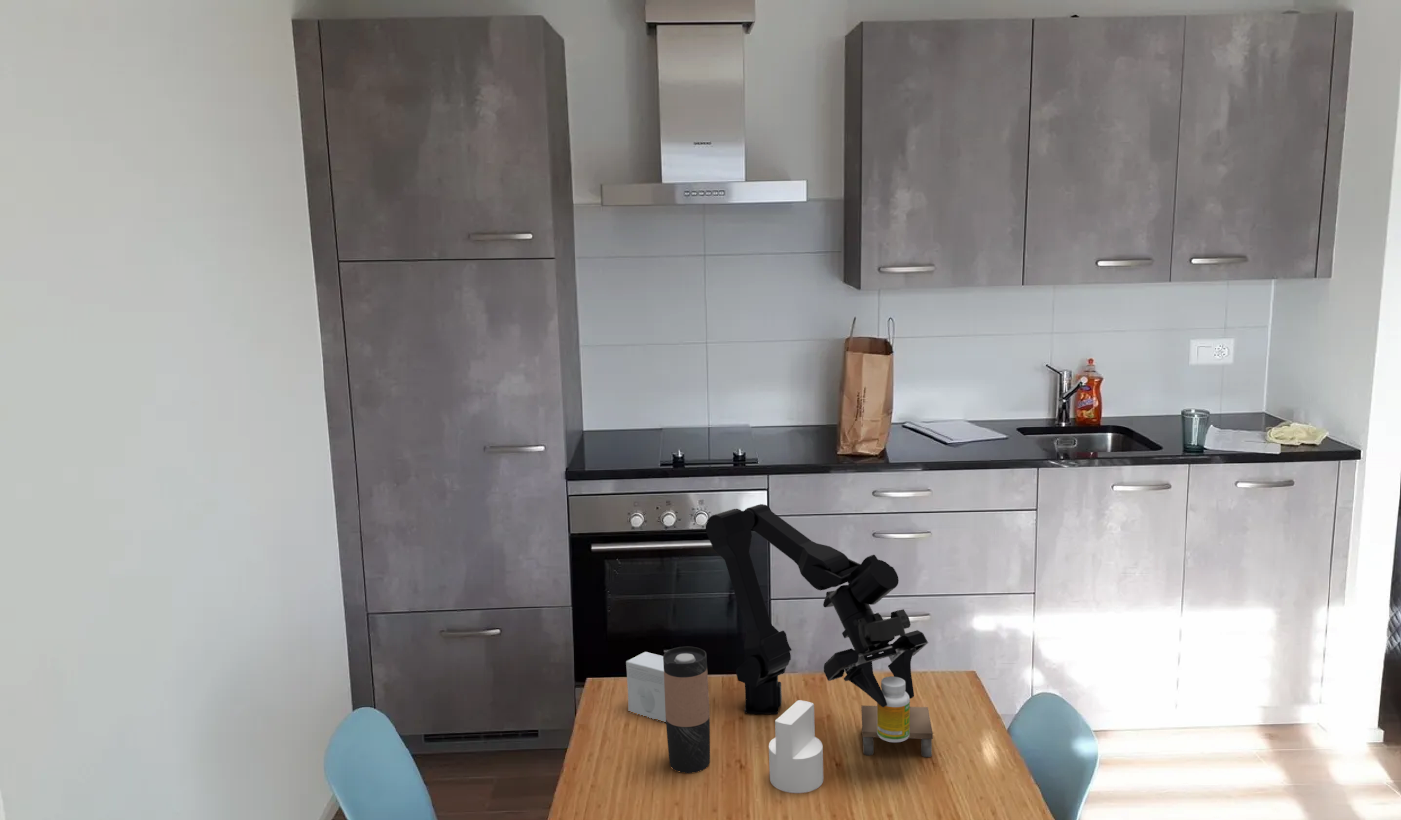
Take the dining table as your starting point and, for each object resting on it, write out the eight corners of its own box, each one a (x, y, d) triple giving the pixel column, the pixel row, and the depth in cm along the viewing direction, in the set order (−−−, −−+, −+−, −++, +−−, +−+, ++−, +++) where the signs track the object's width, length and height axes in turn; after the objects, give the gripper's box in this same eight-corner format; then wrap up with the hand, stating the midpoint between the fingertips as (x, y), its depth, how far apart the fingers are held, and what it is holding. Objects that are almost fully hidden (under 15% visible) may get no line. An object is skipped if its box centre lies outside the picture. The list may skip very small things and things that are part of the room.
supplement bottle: (910, 744, 167) (910, 689, 165) (877, 742, 168) (877, 687, 166) (909, 728, 172) (909, 674, 170) (876, 726, 173) (876, 673, 171)
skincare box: (690, 711, 196) (687, 660, 194) (670, 725, 191) (667, 672, 189) (647, 699, 202) (645, 649, 200) (627, 711, 197) (624, 661, 195)
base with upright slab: (809, 798, 164) (807, 729, 162) (760, 784, 169) (758, 717, 167) (832, 772, 171) (830, 706, 169) (784, 760, 176) (783, 695, 174)
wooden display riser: (862, 755, 177) (862, 731, 176) (861, 728, 186) (861, 705, 186) (932, 757, 175) (932, 733, 174) (928, 730, 185) (928, 707, 184)
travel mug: (717, 754, 179) (712, 648, 176) (703, 776, 172) (698, 666, 168) (676, 749, 181) (671, 644, 178) (661, 770, 174) (656, 661, 171)
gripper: (833, 607, 165) (876, 696, 157) (921, 585, 174) (965, 669, 166) (806, 637, 173) (845, 723, 165) (891, 614, 182) (932, 695, 174)
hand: (898, 701), depth 168 cm, fingers closed on supplement bottle, 5 cm apart
